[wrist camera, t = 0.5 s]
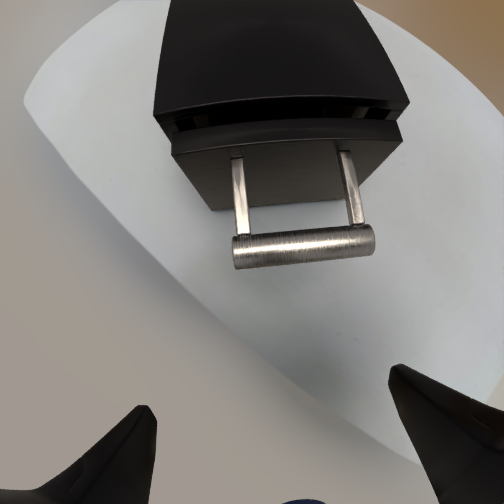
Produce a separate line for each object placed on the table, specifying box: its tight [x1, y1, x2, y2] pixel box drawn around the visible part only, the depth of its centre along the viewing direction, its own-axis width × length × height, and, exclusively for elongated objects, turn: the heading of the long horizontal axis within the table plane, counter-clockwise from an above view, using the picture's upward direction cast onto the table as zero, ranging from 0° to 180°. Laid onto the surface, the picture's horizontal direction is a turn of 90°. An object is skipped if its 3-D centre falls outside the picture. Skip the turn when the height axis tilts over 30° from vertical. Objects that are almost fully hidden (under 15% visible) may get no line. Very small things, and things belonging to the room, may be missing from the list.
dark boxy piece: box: [153, 0, 410, 144], centre depth 16 cm, size 12×12×12 cm
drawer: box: [171, 106, 403, 270], centre depth 16 cm, size 15×10×10 cm
